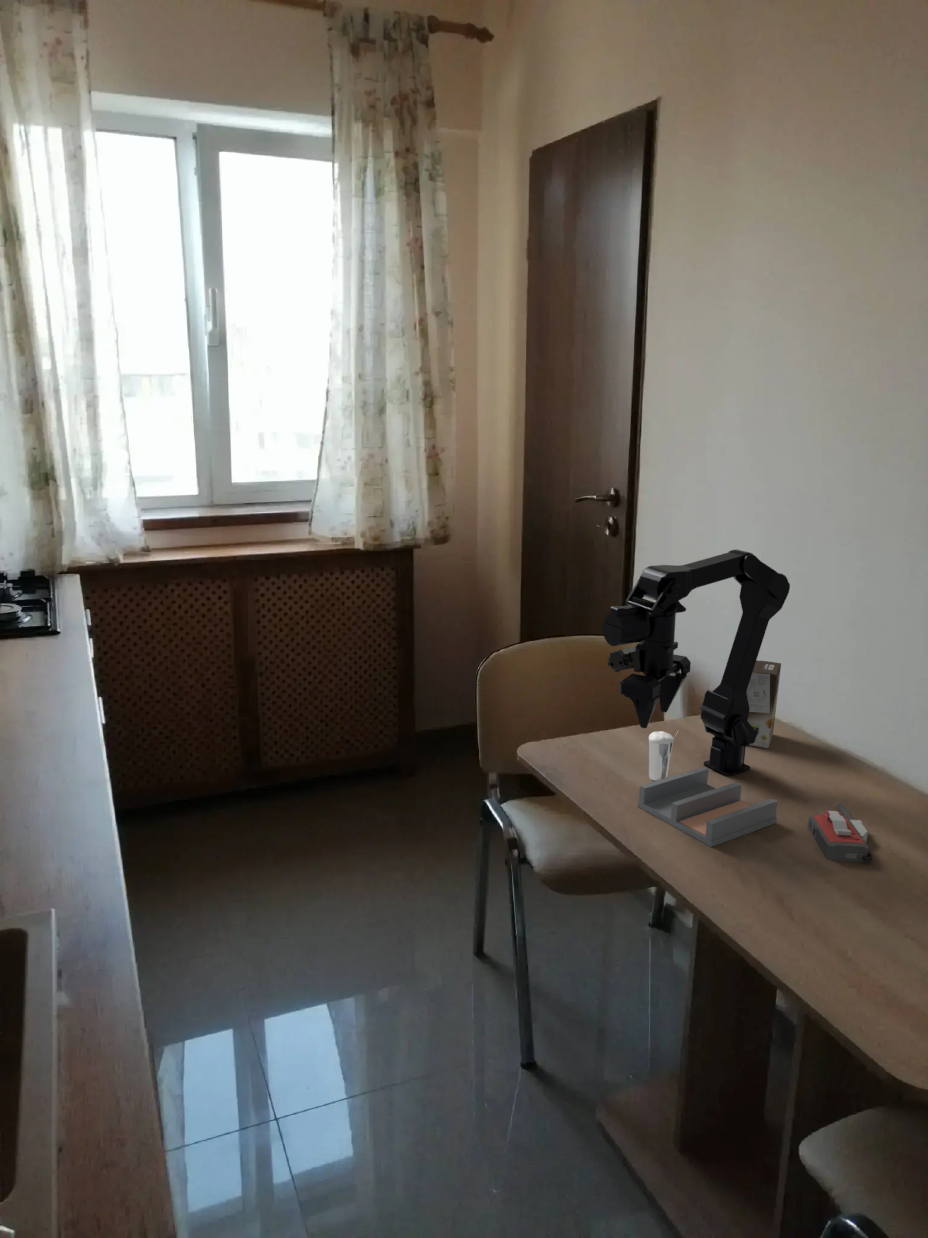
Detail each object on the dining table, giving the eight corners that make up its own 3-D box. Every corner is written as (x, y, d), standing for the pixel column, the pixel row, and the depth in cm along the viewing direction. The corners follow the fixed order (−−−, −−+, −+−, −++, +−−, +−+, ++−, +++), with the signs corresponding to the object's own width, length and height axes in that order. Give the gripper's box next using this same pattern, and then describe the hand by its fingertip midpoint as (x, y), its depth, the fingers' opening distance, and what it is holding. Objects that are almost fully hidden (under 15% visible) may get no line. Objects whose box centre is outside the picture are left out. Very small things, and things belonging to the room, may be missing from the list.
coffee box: (769, 749, 189) (777, 674, 185) (737, 744, 192) (744, 670, 188) (773, 734, 198) (781, 662, 193) (742, 729, 200) (750, 658, 196)
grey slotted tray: (700, 786, 171) (702, 766, 170) (776, 823, 158) (778, 801, 156) (637, 806, 163) (639, 785, 162) (711, 847, 149) (713, 824, 148)
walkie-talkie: (885, 869, 144) (844, 811, 163) (889, 843, 143) (847, 788, 162) (827, 866, 145) (793, 809, 164) (831, 840, 144) (796, 786, 163)
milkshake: (674, 784, 172) (679, 734, 169) (645, 782, 173) (649, 732, 170) (674, 775, 176) (678, 725, 173) (645, 772, 177) (649, 723, 174)
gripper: (637, 619, 176) (634, 696, 180) (593, 643, 161) (590, 727, 165) (693, 628, 170) (688, 707, 174) (653, 654, 155) (649, 740, 159)
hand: (653, 719), depth 168 cm, fingers open, 9 cm apart
